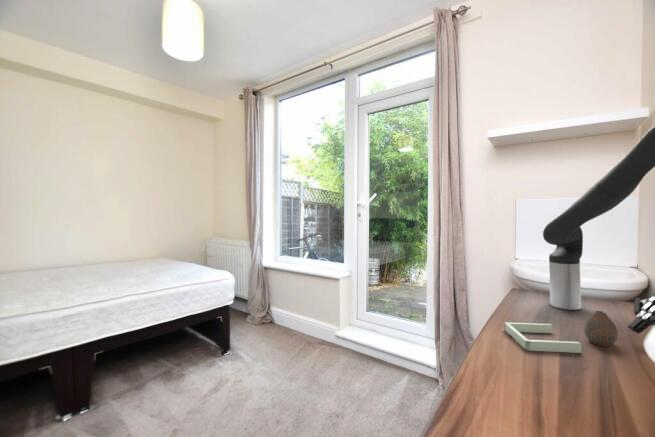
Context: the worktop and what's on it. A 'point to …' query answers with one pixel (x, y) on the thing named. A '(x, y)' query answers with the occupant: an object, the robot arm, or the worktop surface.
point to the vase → (601, 329)
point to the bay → (539, 345)
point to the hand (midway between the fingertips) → (632, 330)
